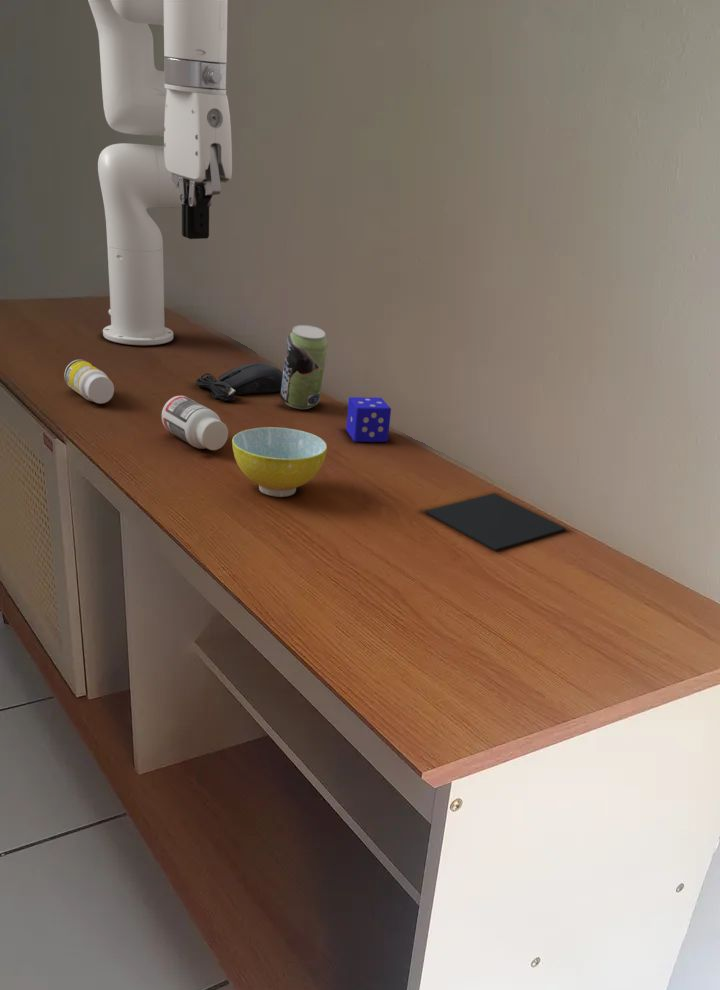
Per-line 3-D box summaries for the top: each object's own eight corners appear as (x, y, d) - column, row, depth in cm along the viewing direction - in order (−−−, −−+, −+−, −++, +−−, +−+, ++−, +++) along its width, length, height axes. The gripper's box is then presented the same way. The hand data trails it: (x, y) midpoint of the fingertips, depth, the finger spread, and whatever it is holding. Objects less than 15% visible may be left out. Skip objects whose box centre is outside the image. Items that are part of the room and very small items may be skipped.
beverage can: (301, 397, 149) (305, 319, 143) (332, 410, 145) (338, 330, 139) (270, 403, 145) (273, 323, 139) (302, 416, 141) (306, 335, 135)
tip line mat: (425, 512, 114) (425, 510, 113) (494, 495, 120) (494, 493, 120) (495, 551, 106) (496, 549, 106) (565, 530, 113) (565, 528, 112)
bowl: (304, 469, 122) (307, 423, 119) (337, 504, 113) (341, 455, 110) (220, 476, 118) (220, 428, 115) (247, 512, 109) (248, 461, 106)
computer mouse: (302, 394, 151) (304, 370, 149) (222, 404, 143) (223, 379, 141) (269, 377, 158) (270, 354, 156) (191, 385, 150) (191, 361, 148)
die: (346, 430, 137) (348, 396, 135) (378, 430, 139) (382, 397, 136) (354, 442, 133) (357, 407, 131) (387, 442, 134) (391, 408, 132)
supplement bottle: (99, 379, 144) (122, 395, 138) (73, 396, 143) (96, 413, 137) (84, 352, 140) (107, 367, 135) (57, 369, 139) (79, 385, 134)
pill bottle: (192, 433, 132) (230, 455, 125) (158, 433, 128) (195, 456, 122) (197, 394, 129) (235, 415, 123) (162, 394, 126) (200, 415, 120)
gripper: (254, 85, 113) (249, 248, 122) (192, 75, 122) (192, 226, 132) (198, 81, 108) (198, 249, 118) (139, 70, 118) (143, 227, 128)
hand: (195, 237), depth 125 cm, fingers closed
